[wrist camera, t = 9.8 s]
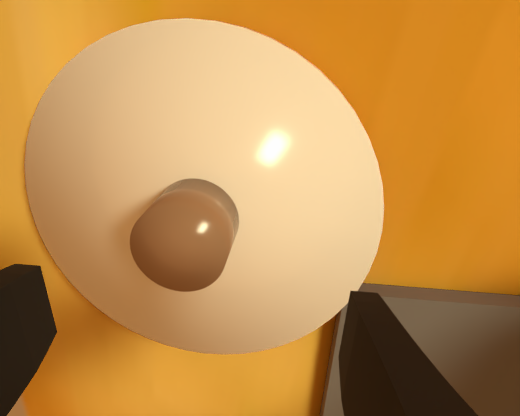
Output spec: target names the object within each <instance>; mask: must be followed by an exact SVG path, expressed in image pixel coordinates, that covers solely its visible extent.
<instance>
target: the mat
mask: <svg viewBox="0 0 520 416" xmlns="http://www.w3.org/2000/svg"><path fill="white" fill-rule="evenodd" d="M358 291H362V292H374V293H378V294H379V295H380V296H381V297H382V298H383V300H384V301H385V302H386V304H387V305H388V306H389V308H390V309H391V311H392V312H393V313H394V315H395V316H396V317H397V319H398V320H399V321H400V323H401V324H402V325H403V327H404V328H405V329H406V330H407V332H408V333H409V334H410V336H411V337H412V338H413V340H414V341H415V342H416V343H417V345H418V346H419V347H420V348H421V350H422V351H423V352H424V353H425V355H426V356H427V357H428V358H429V359H430V361H431V362H432V363H433V364H434V366H435V367H436V368H437V369H438V370H439V372H440V373H441V374H442V375H443V376H444V378H445V379H446V380H447V381H448V382H449V383H450V385H451V386H452V387H453V388H454V389H455V390H456V391H457V393H458V394H459V395H460V396H461V397H462V398H463V399H464V400H465V401H466V403H467V404H468V405H469V406H470V407H471V408H472V409H473V410H474V411H475V413H476V414H477V415H478V416H520V296H519V295H506V294H493V293H480V292H468V291H455V290H442V289H429V288H417V287H404V286H391V285H379V284H366V283H362V284H361V286H360V288H359V289H358ZM347 307H348V303H347V304H346V305H345V306H344V307H343V308H342V309H341V310H340V311H339V312H338V313H337V316H336V322H335V328H334V334H333V339H332V345H331V351H330V357H329V363H328V369H327V375H326V381H325V387H324V393H323V399H322V405H321V411H320V416H344V413H343V407H342V401H341V388H340V374H339V358H338V356H339V350H340V345H341V339H342V334H343V328H344V323H345V317H346V312H347Z"/></svg>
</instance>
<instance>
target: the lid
mask: <svg viewBox="0 0 520 416" xmlns="http://www.w3.org/2000/svg"><path fill="white" fill-rule="evenodd" d="M25 181H26V190H27V195H28V200H29V205H30V209H31V212H32V215H33V218H34V221H35V224H36V227H37V229H38V232H39V234H40V236H41V238H42V240H43V243H44V245H45V247H46V248H47V250H48V252H49V253H50V255H51V257H52V258H53V260H54V262H55V263H56V265H57V266H58V267H59V269H60V270H61V271H62V272H63V274H64V275H65V276H66V278H67V279H68V280H69V281H70V282H71V284H72V285H73V286H74V287H75V288H76V289H77V290H78V291H79V292H80V293H81V294H82V295H83V296H84V297H85V298H86V299H87V300H88V301H90V302H91V303H92V304H93V305H94V306H95V307H96V308H98V309H99V310H100V311H102V312H103V313H104V314H106V315H107V316H109V317H110V318H111V319H113V320H114V321H116V322H118V323H119V324H121V325H123V326H124V327H126V328H128V329H129V330H131V331H133V332H135V333H138V334H140V335H142V336H144V337H146V338H148V339H151V340H154V341H156V342H159V343H162V344H165V345H168V346H172V347H175V348H179V349H183V350H188V351H194V352H200V353H209V354H244V353H251V352H257V351H263V350H267V349H271V348H275V347H278V346H282V345H284V344H287V343H290V342H292V341H295V340H297V339H300V338H301V337H303V336H305V335H307V334H309V333H311V332H312V331H314V330H316V329H318V328H319V327H320V326H322V325H323V324H325V323H326V322H327V321H329V320H330V319H331V318H333V317H334V316H335V315H336V314H337V313H338V312H339V311H340V310H341V309H342V308H343V307H344V306H345V305H346V304H347V303H348V301H349V296H350V291H358V289H359V288H360V286H361V284H362V283H363V281H364V279H365V278H366V276H367V274H368V273H369V271H370V268H371V266H372V263H373V261H374V258H375V256H376V253H377V250H378V246H379V242H380V238H381V234H382V226H383V215H384V200H383V185H382V180H381V175H380V170H379V166H378V161H377V158H376V156H375V153H374V150H373V148H372V145H371V142H370V140H369V137H368V135H367V133H366V131H365V129H364V127H363V125H362V123H361V122H360V120H359V118H358V116H357V114H356V112H355V111H354V109H353V108H352V106H351V105H350V104H349V102H348V101H347V100H346V98H345V97H344V95H343V94H342V93H341V91H340V90H339V89H338V88H337V87H336V86H335V85H334V84H333V83H332V82H331V81H330V79H329V78H328V77H327V76H326V75H325V74H324V73H323V72H322V71H321V70H320V69H319V68H317V67H316V66H315V65H313V64H312V63H311V62H309V61H308V60H307V59H306V58H304V57H303V56H302V55H300V54H299V53H298V52H296V51H295V50H293V49H291V48H289V47H287V46H286V45H284V44H282V43H280V42H279V41H277V40H275V39H273V38H271V37H269V36H266V35H264V34H261V33H259V32H256V31H254V30H251V29H249V28H246V27H242V26H238V25H233V24H229V23H225V22H221V21H213V20H202V19H190V18H182V19H166V20H155V21H151V22H146V23H141V24H137V25H132V26H129V27H127V28H124V29H121V30H119V31H116V32H114V33H111V34H109V35H106V36H105V37H103V38H101V39H100V40H98V41H96V42H94V43H93V44H91V45H89V46H88V47H86V48H85V49H83V50H82V51H81V52H80V53H79V54H77V55H76V56H75V57H74V58H73V59H71V60H70V61H69V62H68V63H67V64H66V65H65V66H64V67H63V68H62V70H61V71H60V72H59V73H58V74H57V75H56V77H55V78H54V79H53V80H52V81H51V83H50V85H49V86H48V88H47V90H46V91H45V93H44V94H43V96H42V98H41V99H40V101H39V104H38V106H37V109H36V111H35V114H34V116H33V119H32V121H31V125H30V129H29V134H28V138H27V142H26V153H25Z"/></svg>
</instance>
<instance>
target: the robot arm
mask: <svg viewBox="0 0 520 416" xmlns="http://www.w3.org/2000/svg"><path fill="white" fill-rule="evenodd" d="M56 333H57V330H56V326H55V322H54V318H53V314H52V310H51V306H50V302H49V299H48V295H47V291H46V287H45V283H44V279H43V275H42V271H41V267H40V266H35V265H22V264H14V265H11V266H9V267H6V268H4V269H2V270H0V416H7V414H8V413H9V412H10V410H11V409H12V407H13V406H14V404H15V403H16V401H17V400H18V398H19V397H20V396H21V394H22V393H23V391H24V390H25V388H26V387H27V385H28V384H29V382H30V381H31V379H32V378H33V376H34V375H35V373H36V372H37V370H38V368H39V366H40V364H41V362H42V361H43V359H44V357H45V355H46V353H47V351H48V349H49V347H50V345H51V343H52V341H53V339H54V337H55V335H56ZM338 358H339V374H340V388H341V401H342V407H343V413H344V416H478V415H477V414H476V413H475V411H474V410H473V409H472V408H471V407H470V406H469V405H468V404H467V403H466V401H465V400H464V399H463V398H462V397H461V396H460V395H459V394H458V393H457V391H456V390H455V389H454V388H453V387H452V386H451V385H450V383H449V382H448V381H447V380H446V379H445V378H444V376H443V375H442V374H441V373H440V372H439V370H438V369H437V368H436V367H435V366H434V364H433V363H432V362H431V361H430V359H429V358H428V357H427V356H426V355H425V353H424V352H423V351H422V350H421V348H420V347H419V346H418V345H417V343H416V342H415V341H414V340H413V338H412V337H411V336H410V334H409V333H408V332H407V330H406V329H405V328H404V327H403V325H402V324H401V323H400V321H399V320H398V319H397V317H396V316H395V315H394V313H393V312H392V311H391V309H390V308H389V306H388V305H387V304H386V302H385V301H384V300H383V298H382V297H381V296H380V295H379V294H378V293H374V292H362V291H350V296H349V301H348V307H347V312H346V317H345V323H344V328H343V334H342V339H341V345H340V350H339V356H338Z"/></svg>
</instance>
